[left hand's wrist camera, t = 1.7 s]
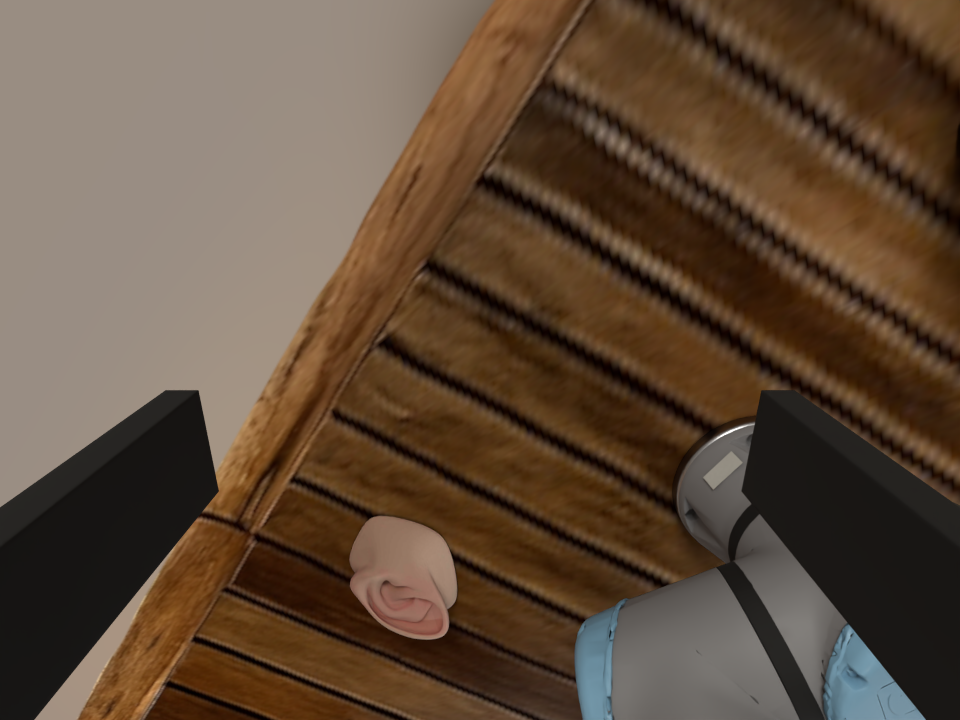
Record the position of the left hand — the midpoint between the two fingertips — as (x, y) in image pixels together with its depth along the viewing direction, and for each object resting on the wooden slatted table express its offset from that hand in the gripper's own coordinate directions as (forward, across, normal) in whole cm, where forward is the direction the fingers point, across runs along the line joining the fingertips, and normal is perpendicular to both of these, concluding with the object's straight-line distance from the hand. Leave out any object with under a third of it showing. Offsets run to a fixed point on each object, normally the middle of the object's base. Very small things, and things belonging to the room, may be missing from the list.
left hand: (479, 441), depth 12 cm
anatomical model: (+34, -8, -34) cm, 49 cm away
